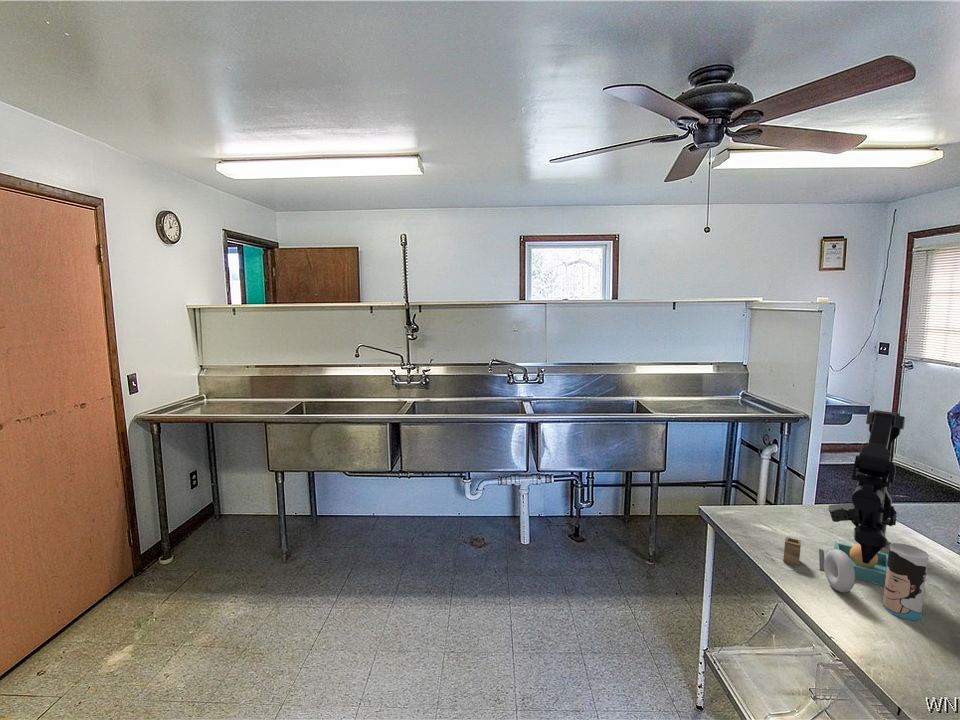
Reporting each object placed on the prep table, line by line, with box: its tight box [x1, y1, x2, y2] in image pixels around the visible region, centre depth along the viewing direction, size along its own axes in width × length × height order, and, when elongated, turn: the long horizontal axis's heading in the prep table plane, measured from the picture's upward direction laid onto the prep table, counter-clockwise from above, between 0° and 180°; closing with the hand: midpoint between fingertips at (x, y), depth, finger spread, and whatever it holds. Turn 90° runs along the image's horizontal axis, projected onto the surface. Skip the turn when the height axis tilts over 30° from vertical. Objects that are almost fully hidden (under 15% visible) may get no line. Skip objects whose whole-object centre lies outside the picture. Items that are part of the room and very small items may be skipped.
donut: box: [824, 548, 856, 593], centre depth 119 cm, size 10×4×10 cm, turn 168°
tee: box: [782, 536, 802, 567], centre depth 133 cm, size 4×4×6 cm
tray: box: [833, 541, 889, 587], centre depth 129 cm, size 13×12×3 cm
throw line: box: [818, 548, 825, 572], centre depth 134 cm, size 13×1×1 cm, turn 145°
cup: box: [882, 542, 930, 621], centre depth 111 cm, size 7×7×15 cm
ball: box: [850, 543, 878, 568], centre depth 129 cm, size 6×6×6 cm
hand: (863, 555), depth 129 cm, fingers open, 9 cm apart
